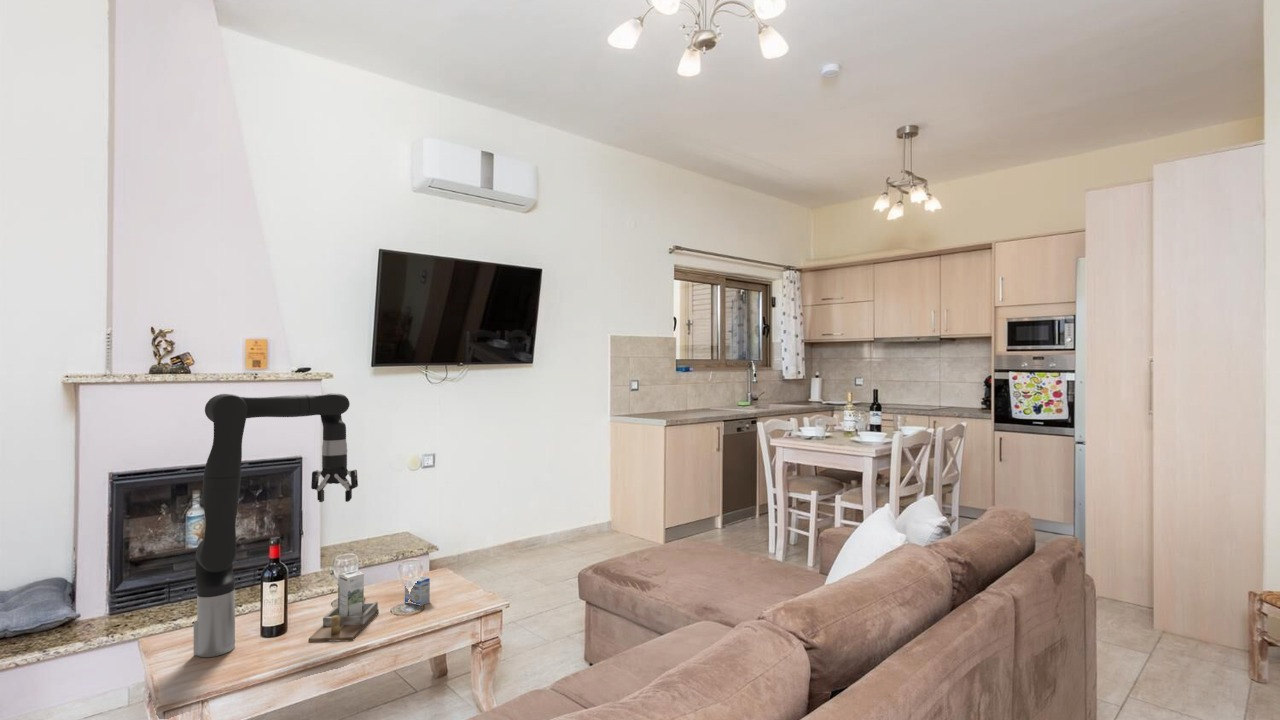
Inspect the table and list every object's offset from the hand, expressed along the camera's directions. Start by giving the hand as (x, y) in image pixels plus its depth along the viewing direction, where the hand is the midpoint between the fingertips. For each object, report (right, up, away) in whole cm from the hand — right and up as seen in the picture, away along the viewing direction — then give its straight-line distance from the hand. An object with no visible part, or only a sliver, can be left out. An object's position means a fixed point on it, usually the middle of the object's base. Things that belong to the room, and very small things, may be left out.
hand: (334, 501), depth 210 cm
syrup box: (+8, -37, -5) cm, 38 cm away
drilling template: (+8, -38, -9) cm, 40 cm away
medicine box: (+24, -38, +11) cm, 46 cm away
